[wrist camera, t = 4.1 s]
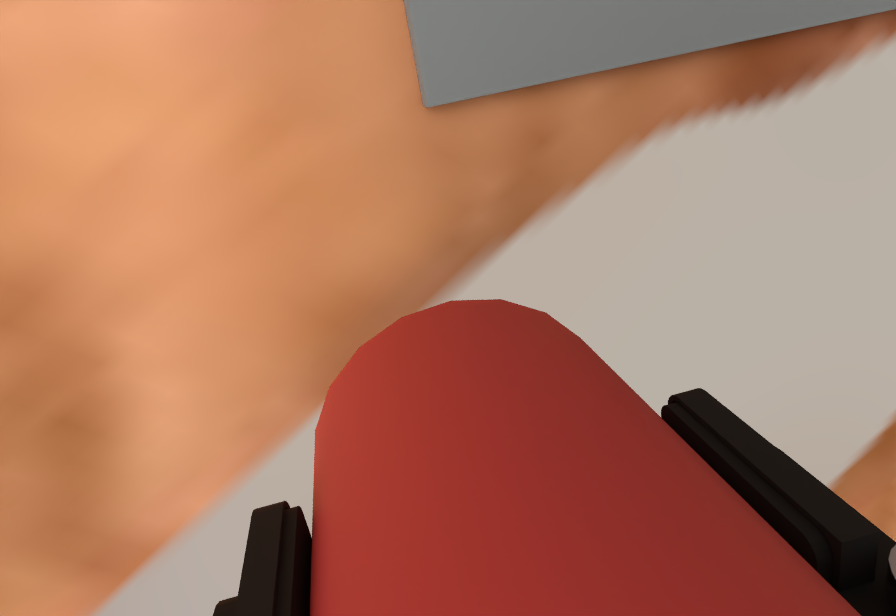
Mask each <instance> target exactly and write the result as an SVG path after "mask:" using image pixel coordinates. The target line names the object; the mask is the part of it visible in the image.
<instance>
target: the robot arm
mask: <svg viewBox="0 0 896 616" xmlns="http://www.w3.org/2000/svg"><path fill="white" fill-rule="evenodd" d="M661 418H662V419H663V420H664V421H665V422H666V423H667V424H668V425H669V426H670V427H671V428H672V429H673V430H674V431H675V432H676V433H677V434H678V435H679V436H680V437H681V438H682V439H683V440H684V441H685V442H686V443H687V444H688V445H689V446H690V447H691V448H692V449H693V450H694V451H695V452H696V453H697V454H698V455H699V456H700V457H701V458H702V459H703V460H704V461H705V462H706V463H707V464H708V465H709V466H710V467H711V468H712V469H713V470H714V471H715V472H716V473H717V474H718V475H719V476H720V477H722V478H723V479H724V480H725V481H726V482H727V483H728V484H729V485H730V486H731V487H732V488H733V489H734V490H735V491H736V492H737V493H738V494H739V495H740V496H741V497H742V498H743V499H744V500H745V501H746V502H747V503H748V504H749V505H750V506H751V507H752V508H753V509H754V510H755V511H756V512H757V513H758V514H759V515H760V516H761V517H762V518H763V519H764V520H765V521H766V522H767V523H768V524H769V525H770V526H771V527H772V528H773V529H774V530H775V531H776V532H777V533H778V534H779V535H780V536H781V537H782V538H783V539H784V540H785V541H786V542H787V543H788V544H789V545H790V546H791V547H792V548H793V549H794V550H795V551H796V552H797V553H798V554H799V555H800V556H801V557H802V558H803V559H804V560H806V561H807V562H808V563H809V564H810V565H811V566H812V567H813V568H814V569H815V570H816V571H817V572H818V573H819V574H820V575H821V576H822V577H823V578H824V579H825V580H826V581H827V582H828V583H829V584H830V585H831V586H832V587H833V588H834V589H835V590H836V591H837V592H838V593H839V594H840V595H841V596H842V597H843V598H844V599H845V600H846V601H847V602H848V603H849V604H850V605H851V606H852V607H853V608H854V609H855V610H856V611H857V612H858V613H859V614H860V615H861V616H896V542H895V541H894V540H892V539H891V538H890V537H889V536H887V535H886V534H885V533H884V532H882V531H881V530H880V529H879V528H877V527H876V526H875V525H874V524H872V523H871V522H870V521H869V520H867V519H866V518H865V517H864V516H862V515H861V514H860V513H859V512H857V511H856V510H855V509H854V508H852V507H851V506H850V505H849V504H847V503H846V502H845V501H844V500H842V499H841V498H840V497H839V496H837V495H836V494H835V493H834V492H832V491H831V490H830V489H829V488H827V487H826V486H825V485H824V484H822V483H821V482H820V481H819V480H817V479H816V478H815V477H814V476H812V475H811V474H810V473H809V472H807V471H806V470H805V469H804V468H802V467H801V466H800V465H799V464H797V463H796V462H795V461H794V460H792V459H791V458H790V457H789V456H787V455H786V454H785V453H784V452H782V451H781V450H780V449H778V448H777V447H775V446H773V445H772V444H771V443H770V442H768V441H767V440H766V439H765V438H763V437H762V436H761V435H760V434H758V433H757V432H756V431H755V430H753V429H752V428H751V427H750V426H748V425H747V424H746V423H745V422H743V421H742V420H741V419H740V418H739V417H737V416H736V415H735V414H734V413H732V412H731V411H730V410H729V409H727V408H726V407H725V406H723V405H722V404H721V403H720V402H719V401H717V400H716V399H715V398H714V397H712V396H711V395H710V394H709V393H708V392H706V391H705V390H703V389H700V388H697V389H694V390H690V391H686V392H683V393H679V394H675V395H672V396H671V397H670V398H669V400H668V405H665V406H663V407H662V410H661ZM311 555H312V537H311V535H310V532H309V529H308V526H307V523H306V520H305V517H304V514H303V512H302V509H301V507H300V506H297V507H293V508H290V506H289V504H288V503H287V502H286V501H283V502H279V503H276V504H272V505H269V506H265V507H261V508H257V509H255V510H253V513H252V516H251V522H250V529H249V534H248V540H247V546H246V551H245V558H244V563H243V569H242V575H241V580H240V587H239V592H238V596H236V597H233V598H229V599H226V600H222V601H219V603H218V604H217V605H216V607H215V610H214V614H213V616H310V588H311Z"/></svg>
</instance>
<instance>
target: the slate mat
mask: <svg viewBox="0 0 896 616" xmlns="http://www.w3.org/2000/svg"><path fill="white" fill-rule="evenodd" d="M404 5H405V11H406V16H407V21H408V27H409V32H410V37H411V43H412V48H413V53H414V59H415V64H416V69H417V75H418V80H419V85H420V91H421V96H422V101H423V106H424V107H433V106H438V105H442V104H447V103H452V102H457V101H461V100H466V99H471V98H476V97H480V96H485V95H490V94H495V93H499V92H504V91H509V90H514V89H518V88H523V87H528V86H533V85H537V84H542V83H547V82H552V81H556V80H561V79H566V78H571V77H575V76H580V75H585V74H590V73H594V72H599V71H604V70H609V69H613V68H618V67H623V66H628V65H633V64H637V63H642V62H647V61H652V60H656V59H661V58H666V57H671V56H675V55H680V54H685V53H690V52H694V51H699V50H704V49H709V48H713V47H718V46H723V45H728V44H732V43H737V42H742V41H747V40H751V39H756V38H761V37H766V36H770V35H775V34H780V33H785V32H789V31H794V30H799V29H804V28H808V27H813V26H818V25H823V24H827V23H832V22H837V21H842V20H847V19H851V18H856V17H861V16H866V15H870V14H875V13H880V12H885V11H889V10H894V9H896V0H404Z"/></svg>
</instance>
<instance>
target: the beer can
mask: <svg viewBox="0 0 896 616" xmlns="http://www.w3.org/2000/svg"><path fill="white" fill-rule="evenodd" d="M314 458H315V459H314V490H313V523H312V524H313V525H312V555H311V588H310V616H861V615H860V614H859V613H858V612H857V611H856V610H855V609H854V608H853V607H852V606H851V605H850V604H849V603H848V602H847V601H846V600H845V599H844V598H843V597H842V596H841V595H840V594H839V593H838V592H837V591H836V590H835V589H834V588H833V587H832V586H831V585H830V584H829V583H828V582H827V581H826V580H825V579H824V578H823V577H822V576H821V575H820V574H819V573H818V572H817V571H816V570H815V569H814V568H813V567H812V566H811V565H810V564H809V563H808V562H807V561H806V560H804V559H803V558H802V557H801V556H800V555H799V554H798V553H797V552H796V551H795V550H794V549H793V548H792V547H791V546H790V545H789V544H788V543H787V542H786V541H785V540H784V539H783V538H782V537H781V536H780V535H779V534H778V533H777V532H776V531H775V530H774V529H773V528H772V527H771V526H770V525H769V524H768V523H767V522H766V521H765V520H764V519H763V518H762V517H761V516H760V515H759V514H758V513H757V512H756V511H755V510H754V509H753V508H752V507H751V506H750V505H749V504H748V503H747V502H746V501H745V500H744V499H743V498H742V497H741V496H740V495H739V494H738V493H737V492H736V491H735V490H734V489H733V488H732V487H731V486H730V485H729V484H728V483H727V482H726V481H725V480H724V479H723V478H722V477H720V476H719V475H718V474H717V473H716V472H715V471H714V470H713V469H712V468H711V467H710V466H709V465H708V464H707V463H706V462H705V461H704V460H703V459H702V458H701V457H700V456H699V455H698V454H697V453H696V452H695V451H694V450H693V449H692V448H691V447H690V446H689V445H688V444H687V443H686V442H685V441H684V440H683V439H682V438H681V437H680V436H679V435H678V434H677V433H676V432H675V431H674V430H673V429H672V428H671V427H670V426H669V425H668V424H667V423H666V422H665V421H664V420H663V419H662V418H661V417H660V416H659V415H658V414H657V413H656V412H655V411H654V410H653V409H652V408H650V406H649V405H648V404H647V403H645V401H644V400H643V399H641V397H639V395H638V394H636V393H635V392H634V391H633V390H632V389H631V388H630V387H629V386H628V385H627V384H626V383H625V382H624V381H623V380H622V379H621V378H620V377H619V376H618V375H617V374H616V373H615V372H614V371H613V370H612V369H611V368H610V367H609V366H608V365H607V364H606V363H605V362H604V361H603V360H602V359H601V358H600V357H599V356H598V355H597V354H596V353H595V352H594V351H593V350H592V349H591V348H590V347H589V346H588V345H587V344H586V343H585V342H584V341H583V340H582V339H581V338H580V337H578V336H577V335H575V334H574V333H573V332H571V331H570V330H569V329H567V328H566V327H565V326H563V325H562V324H560V323H559V322H558V321H556V320H555V319H554V318H552V317H551V316H550V315H548V314H547V313H545V312H542V311H538V310H535V309H531V308H528V307H525V306H521V305H518V304H515V303H511V302H508V301H505V300H501V299H498V300H463V301H449V302H446V303H443V304H440V305H437V306H434V307H431V308H428V309H425V310H422V311H419V312H416V313H413V314H410V315H407V316H404V317H402V318H400V319H399V320H397V321H396V322H395V323H393V324H392V325H390V326H389V327H387V328H386V329H385V330H383V331H382V332H380V333H379V334H378V335H376V336H375V337H373V338H372V339H371V340H369V341H368V342H366V343H365V344H364V345H362V346H361V347H359V349H358V350H357V351H356V353H355V354H354V355H353V357H352V358H351V359H350V361H349V362H348V363H347V365H346V366H345V367H344V368H343V370H342V371H341V372H340V374H339V375H338V376H337V378H336V379H335V380H334V382H333V383H332V384H331V386H330V387H329V390H328V393H327V396H326V399H325V402H324V405H323V409H322V412H321V415H320V418H319V421H318V424H317V427H316V430H315V457H314Z"/></svg>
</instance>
